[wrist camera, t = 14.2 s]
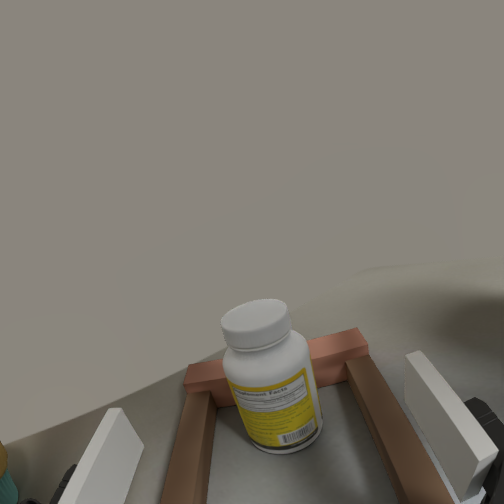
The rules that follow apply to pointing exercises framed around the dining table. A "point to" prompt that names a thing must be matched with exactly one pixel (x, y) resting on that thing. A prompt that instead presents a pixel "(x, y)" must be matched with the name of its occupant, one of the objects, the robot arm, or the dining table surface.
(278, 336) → the supplement bottle
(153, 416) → the dining table surface
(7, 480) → the cupcake
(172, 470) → the walnut channel
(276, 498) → the dining table surface
